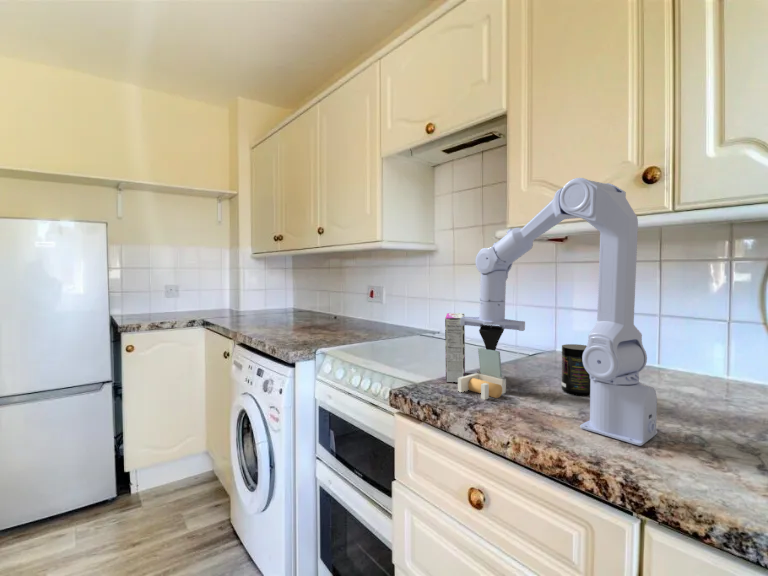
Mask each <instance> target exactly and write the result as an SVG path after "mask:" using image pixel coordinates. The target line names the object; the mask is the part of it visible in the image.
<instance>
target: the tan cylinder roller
mask: <svg viewBox="0 0 768 576" xmlns="http://www.w3.org/2000/svg"><path fill="white" fill-rule="evenodd" d="M483 383H487V384H489V397H491V398H494V399H497V398H501V396H502V395H503V394H502V386H501V385H499V384H495V383H491V382H487V381H483V380H480V379H476V378H472V379H471V380H470V381H469V389H470V390H469V391H471V392H473V393H474V392H475V393H478V394H480V393H481V384H483Z"/></svg>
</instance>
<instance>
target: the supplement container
mask: <svg viewBox="0 0 768 576" xmlns="http://www.w3.org/2000/svg"><path fill="white" fill-rule="evenodd" d="M586 347H587V345H584V344H572V343H571V344H567V343H566V344H562V345H561V390H562V392H564V393H566V394H568V395H571V396H576V397H577V396H578V397H587V396H589V397H590V374H588V372H587V371H586V369H585V368H584V365H583V361H582V356H583V352H584V350H585V348H586Z"/></svg>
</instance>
